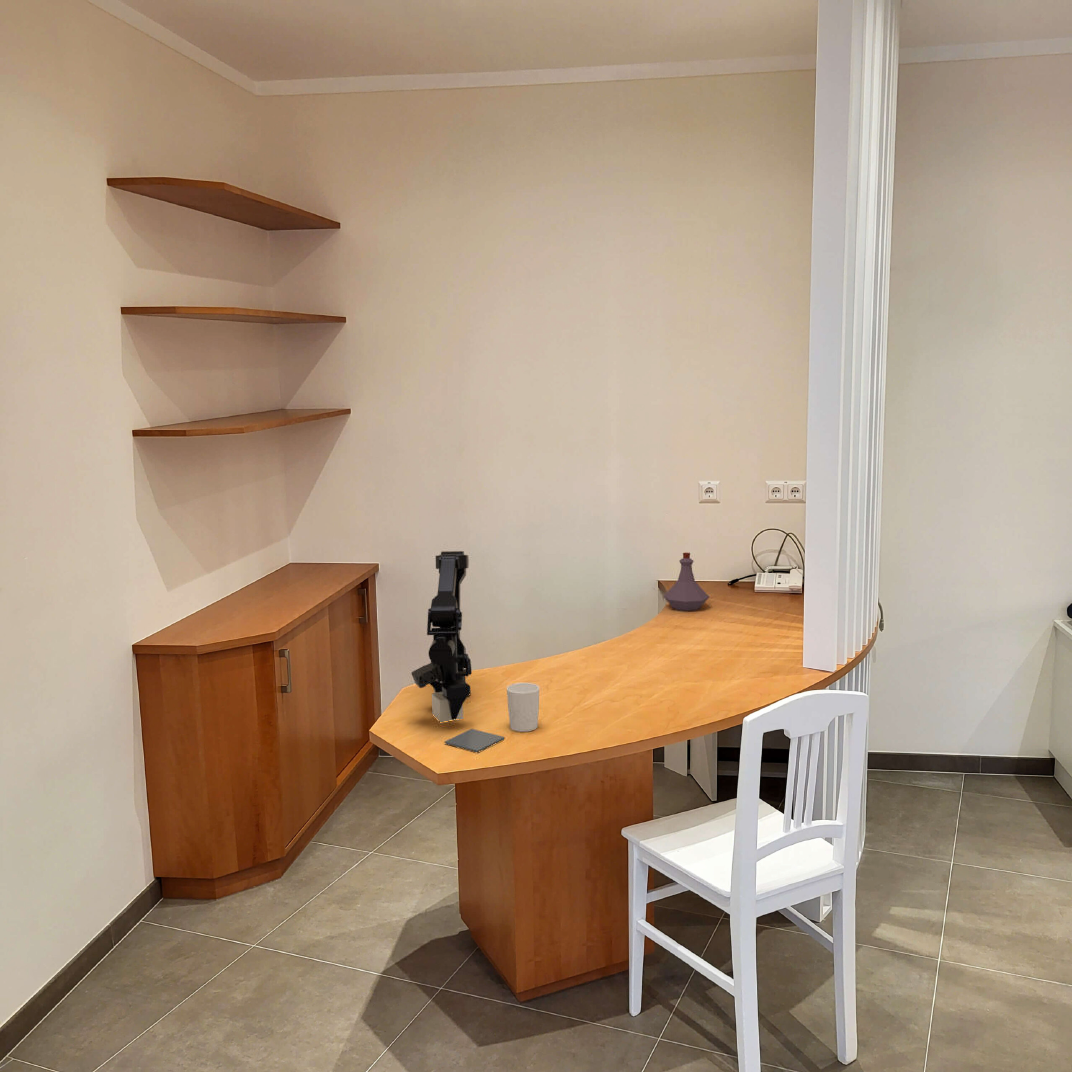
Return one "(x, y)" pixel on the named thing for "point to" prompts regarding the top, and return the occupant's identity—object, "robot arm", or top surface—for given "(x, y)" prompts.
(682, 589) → the flask
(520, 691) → the white cup
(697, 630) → the top surface
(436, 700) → the cube
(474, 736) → the coaster
